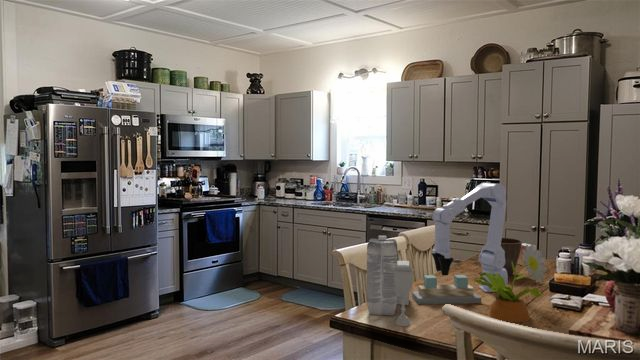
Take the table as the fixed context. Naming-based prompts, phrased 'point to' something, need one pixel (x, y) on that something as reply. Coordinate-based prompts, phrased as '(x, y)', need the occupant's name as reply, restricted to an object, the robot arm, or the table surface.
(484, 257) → the robot arm
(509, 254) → the plant pot
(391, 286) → the juice carton
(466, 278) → the block
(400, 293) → the chalice
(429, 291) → the beige bar
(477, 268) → the table surface
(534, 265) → the decorative plant
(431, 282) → the block
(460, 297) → the loading dock
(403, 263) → the supplement box
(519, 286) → the table surface
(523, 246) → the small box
